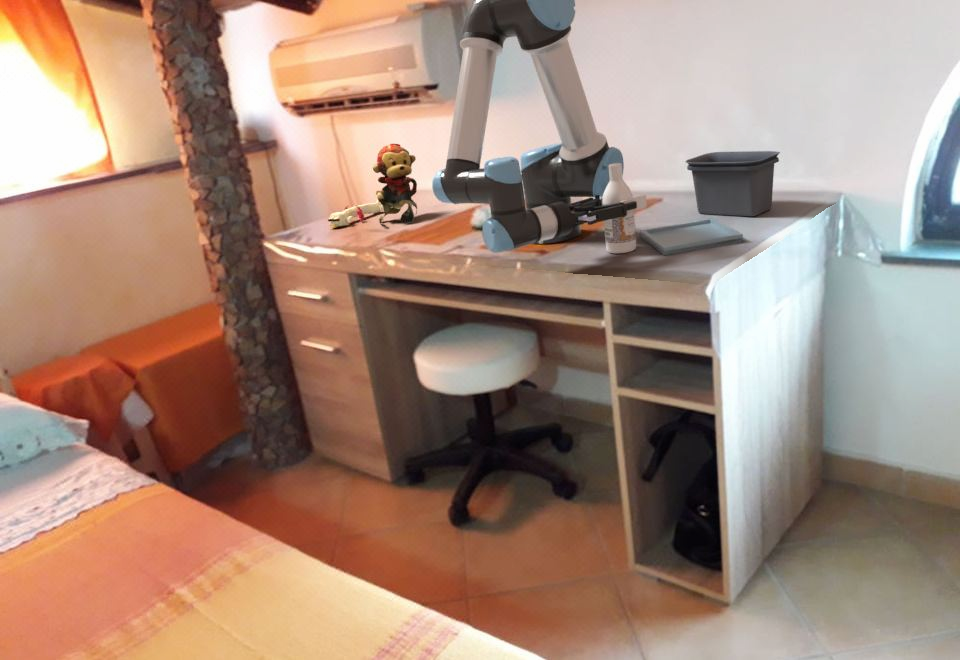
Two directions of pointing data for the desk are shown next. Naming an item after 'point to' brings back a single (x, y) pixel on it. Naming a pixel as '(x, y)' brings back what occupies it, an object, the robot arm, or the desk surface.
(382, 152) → the stuffed monkey
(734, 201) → the storage bin
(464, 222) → the desk surface
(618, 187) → the bath foam
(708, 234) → the tray
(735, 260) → the desk surface
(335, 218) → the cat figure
